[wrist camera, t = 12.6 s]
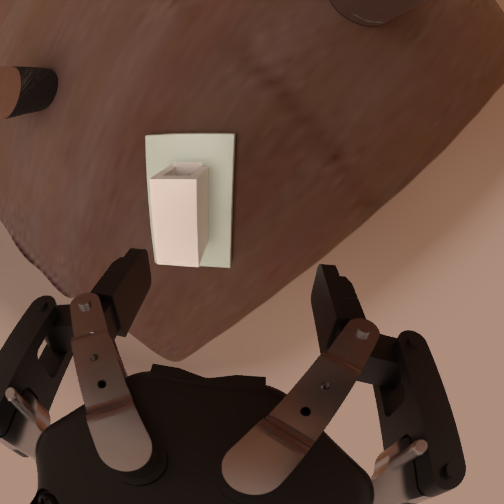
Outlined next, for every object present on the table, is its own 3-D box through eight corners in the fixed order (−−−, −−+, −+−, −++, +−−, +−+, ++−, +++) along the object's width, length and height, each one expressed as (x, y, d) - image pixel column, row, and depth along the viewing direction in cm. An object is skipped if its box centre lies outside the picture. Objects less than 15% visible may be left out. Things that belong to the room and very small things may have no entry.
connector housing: (168, 166, 31) (149, 179, 26) (208, 166, 31) (196, 179, 26) (172, 239, 36) (157, 264, 30) (208, 241, 36) (198, 267, 30)
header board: (151, 134, 31) (135, 138, 27) (235, 133, 31) (231, 136, 27) (159, 255, 40) (148, 273, 36) (231, 260, 40) (227, 279, 36)
